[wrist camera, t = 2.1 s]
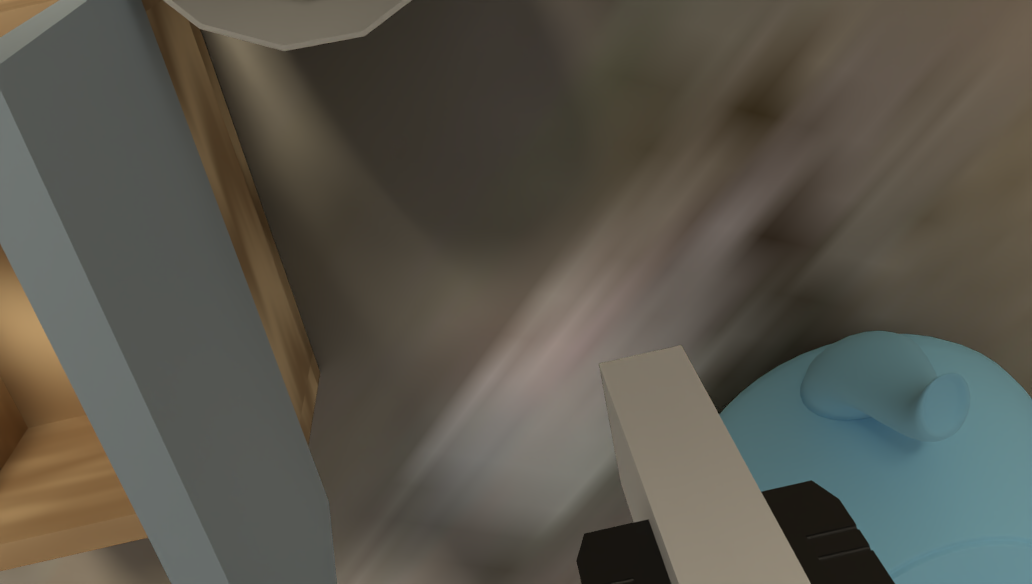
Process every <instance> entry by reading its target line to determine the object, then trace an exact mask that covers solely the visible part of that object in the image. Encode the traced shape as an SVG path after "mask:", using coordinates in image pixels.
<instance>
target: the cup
mask: <svg viewBox="0 0 1032 584" xmlns="http://www.w3.org/2000/svg"><path fill="white" fill-rule="evenodd" d="M163 1H165V2H166V3H167V4H168V5H170V6H171V7H172V8H174V9H175V10H176V11H177V12H179V13H180V14H181V15H182V16H184V17H185V18H186V19H188V20H189V21H190V22H191V23H193V24H194V25H195V26H197V27H198V28H199V29H202V30H206V31H209V32H213V33H217V34H221V35H225V36H228V37H232V38H236V39H240V40H243V41H247V42H251V43H255V44H258V45H262V46H266V47H270V48H274V49H277V50H281V51H288V50H293V49H299V48H304V47H310V46H315V45H320V44H326V43H331V42H337V41H342V40H347V39H353V38H358V37H364V36H366V35H367V34H368V33H370V32H371V31H372V30H374V29H375V28H376V27H377V26H379V25H380V24H381V23H383V22H384V21H385V20H387V19H388V18H389V17H391V16H392V15H393V14H394V13H396V12H397V11H398V10H400V9H401V8H402V7H404V6H405V5H406V4H408V3H409V2H410V1H412V0H163Z"/></svg>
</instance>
